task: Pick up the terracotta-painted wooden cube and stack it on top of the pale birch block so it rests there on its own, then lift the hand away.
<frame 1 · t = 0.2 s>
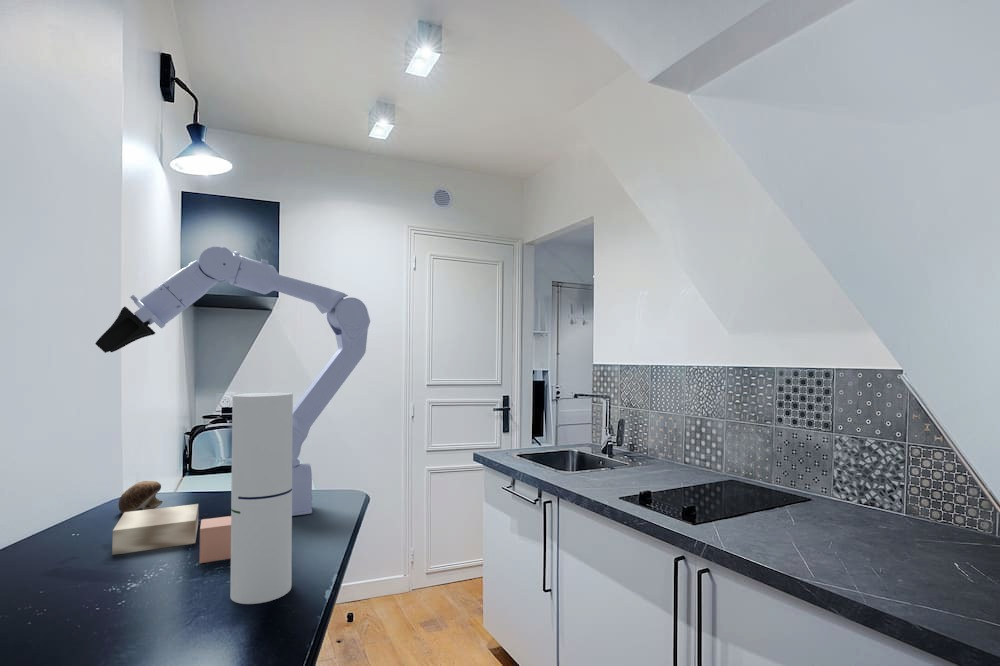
hand: (103, 348, 92), 31 cm above the countertop, fingers open, 7 cm apart
mushroom: (139, 512, 106), on the countertop
birch block: (158, 540, 91), on the countertop
cylindrical container: (261, 592, 70), on the countertop
terracotta cube: (219, 555, 83), on the countertop
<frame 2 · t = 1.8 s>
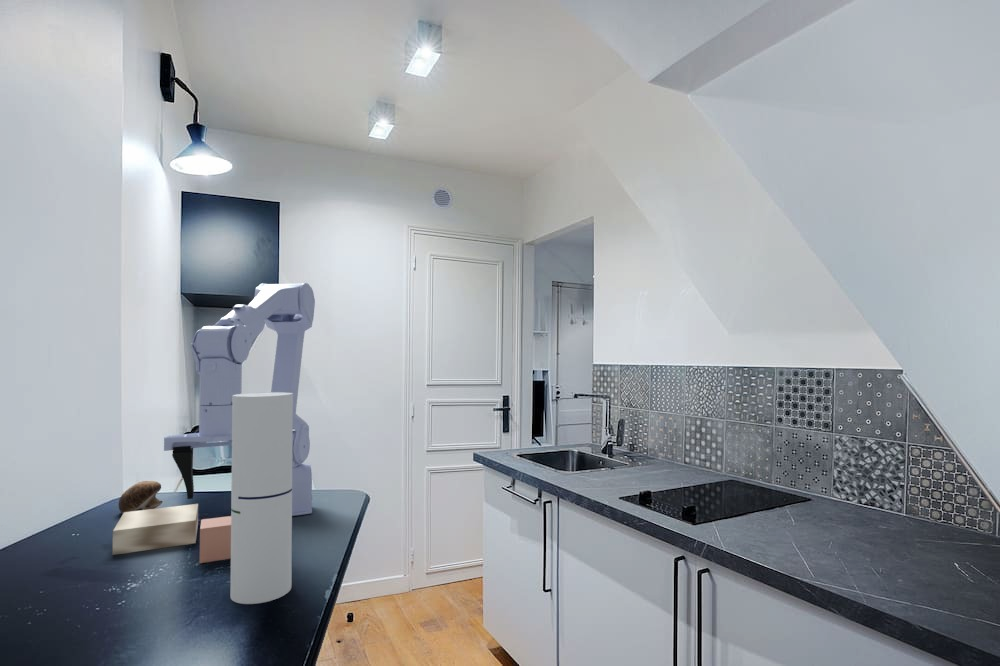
hand: (219, 494, 83), 9 cm above the countertop, fingers open, 7 cm apart
nothing on the countertop moved.
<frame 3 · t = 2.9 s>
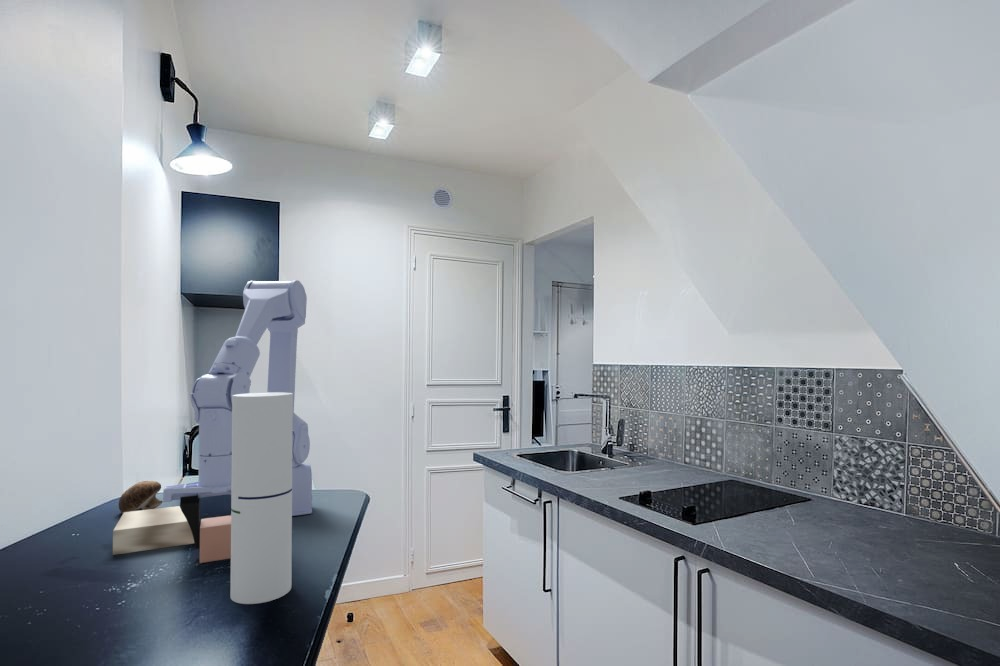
hand: (219, 543, 83), 2 cm above the countertop, fingers closed on terracotta cube, 5 cm apart
terracotta cube: (219, 554, 83), on the countertop, touching gripper
everything else where it was.
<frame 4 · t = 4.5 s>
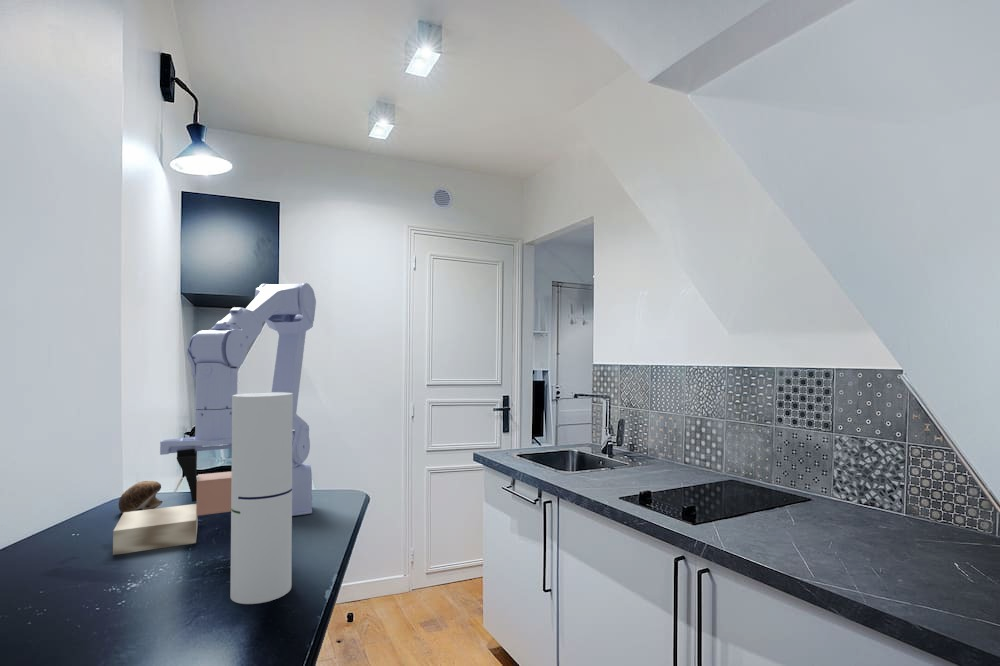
hand: (215, 497, 84), 8 cm above the countertop, fingers closed on terracotta cube, 5 cm apart
terracotta cube: (215, 509, 84), point 7 cm above the countertop, touching gripper
everything else where it was.
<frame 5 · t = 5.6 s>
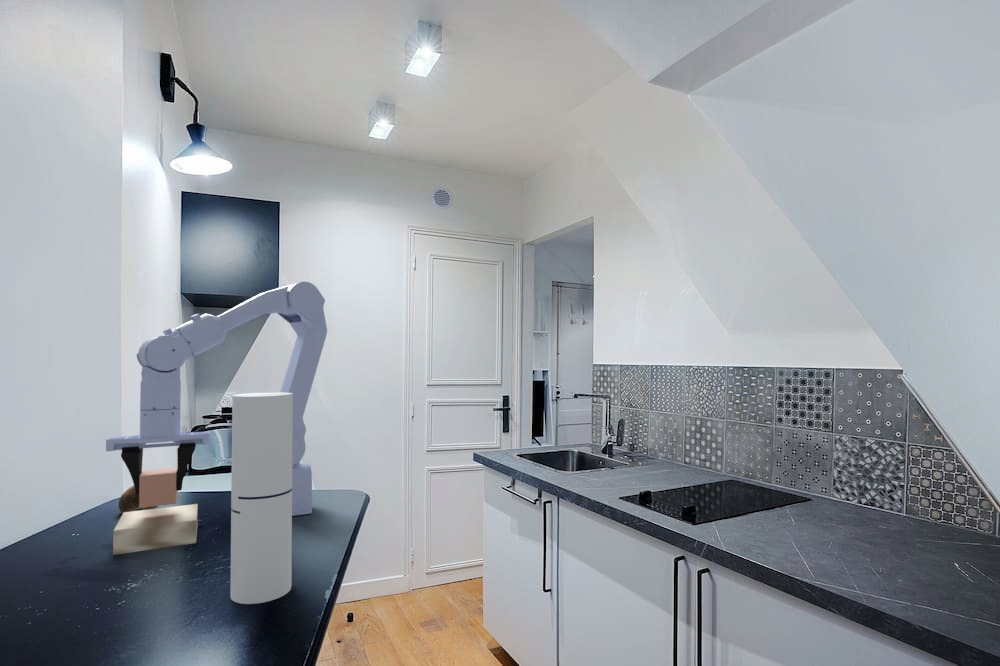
hand: (159, 491, 91), 8 cm above the countertop, fingers closed on terracotta cube, 5 cm apart
terracotta cube: (159, 502, 91), point 6 cm above the countertop, touching gripper
everything else where it was.
when the fingers open (7 cm above the countertop, at t = 6.3 s): terracotta cube drops 1 cm, resting on birch block.
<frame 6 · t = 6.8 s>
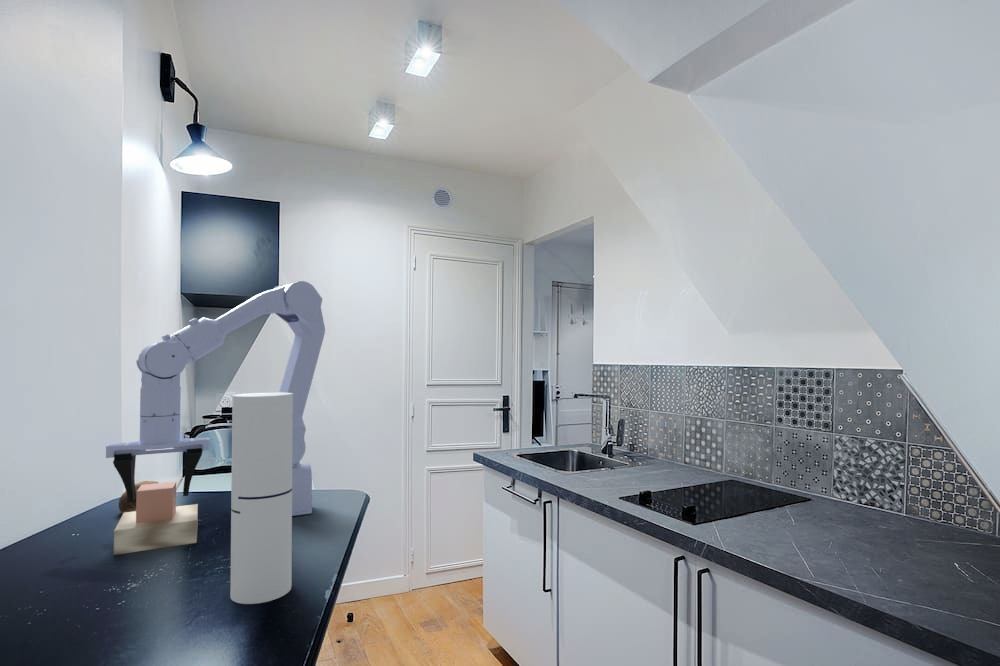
hand: (159, 497, 91), 7 cm above the countertop, fingers open, 7 cm apart
birch block: (159, 540, 91), on the countertop, touching terracotta cube
terracotta cube: (156, 516, 90), point 4 cm above the countertop, touching birch block
everything else where it was.
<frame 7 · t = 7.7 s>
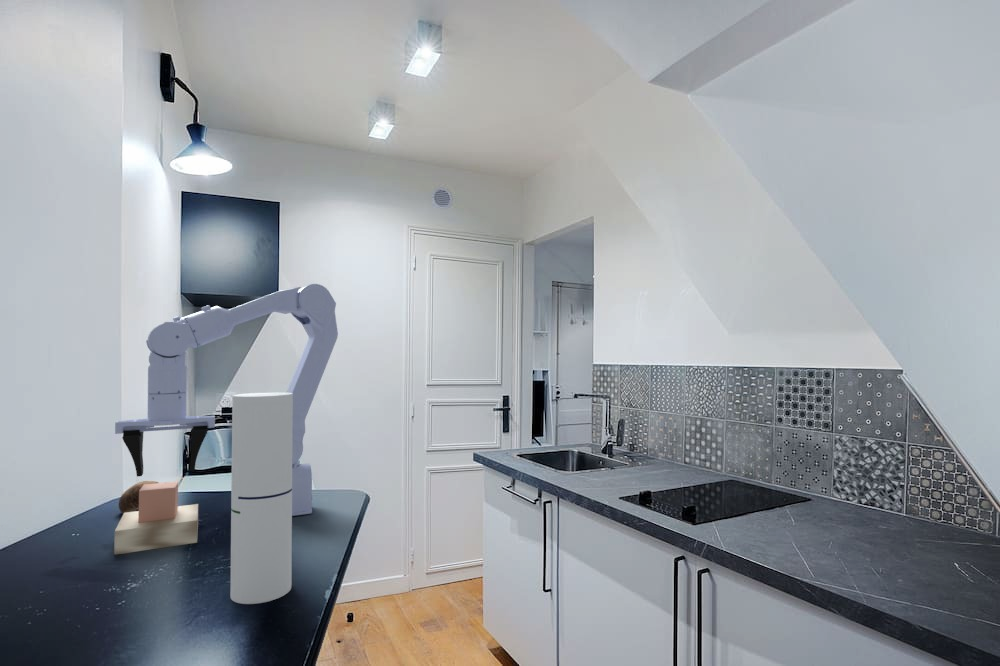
hand: (166, 472, 94), 10 cm above the countertop, fingers open, 7 cm apart
nothing on the countertop moved.
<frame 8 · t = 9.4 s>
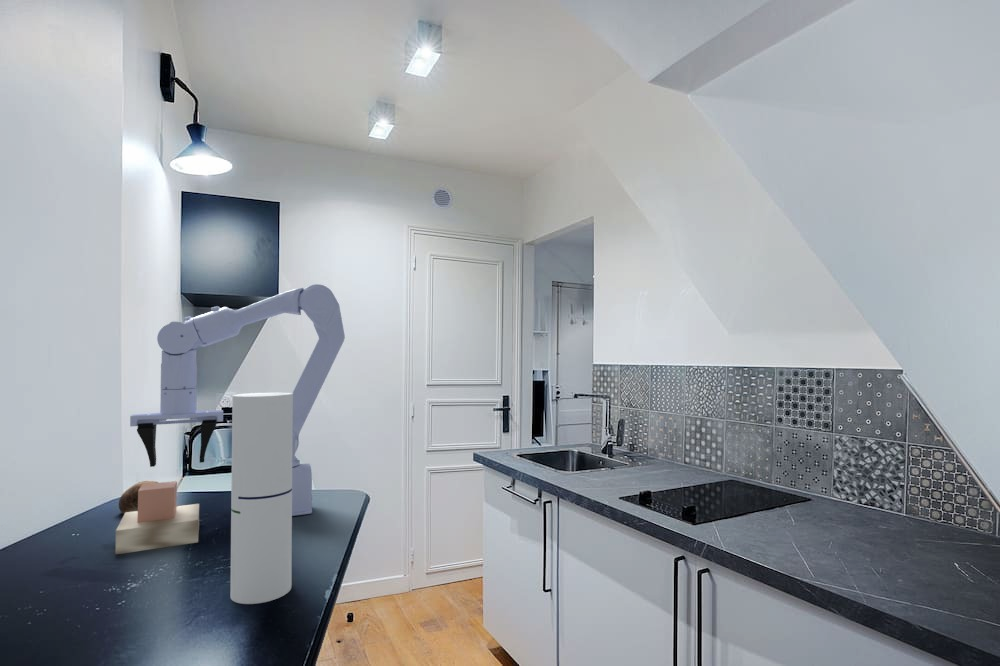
hand: (177, 463, 100), 10 cm above the countertop, fingers open, 7 cm apart
nothing on the countertop moved.
at the end: terracotta cube 0.6 cm off-centre on the birch block, point 4.0 cm above the birch block's base; terracotta cube tilted 1°; the gripper is holding nothing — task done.
